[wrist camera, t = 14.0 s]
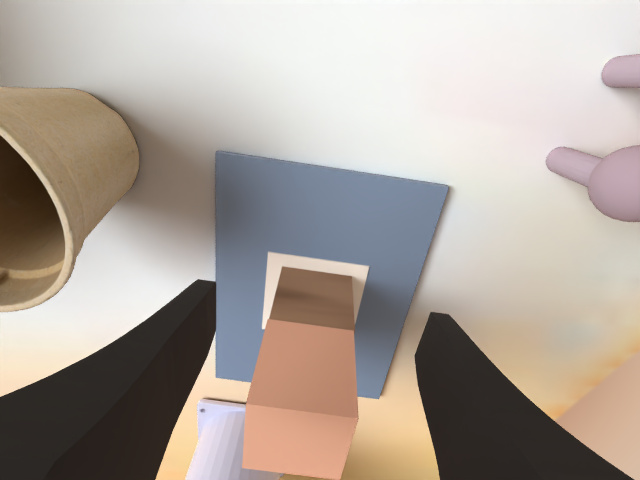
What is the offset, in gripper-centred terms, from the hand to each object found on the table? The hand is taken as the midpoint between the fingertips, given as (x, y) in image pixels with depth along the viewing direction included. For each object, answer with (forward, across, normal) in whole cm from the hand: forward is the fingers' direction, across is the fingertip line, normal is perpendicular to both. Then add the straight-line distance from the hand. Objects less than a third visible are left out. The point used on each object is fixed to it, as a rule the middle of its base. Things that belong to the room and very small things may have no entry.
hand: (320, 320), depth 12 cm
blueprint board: (+10, 0, +7) cm, 13 cm away
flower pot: (+11, +14, -1) cm, 18 cm away
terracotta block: (+5, 0, +7) cm, 8 cm away
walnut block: (+10, 0, +7) cm, 12 cm away
